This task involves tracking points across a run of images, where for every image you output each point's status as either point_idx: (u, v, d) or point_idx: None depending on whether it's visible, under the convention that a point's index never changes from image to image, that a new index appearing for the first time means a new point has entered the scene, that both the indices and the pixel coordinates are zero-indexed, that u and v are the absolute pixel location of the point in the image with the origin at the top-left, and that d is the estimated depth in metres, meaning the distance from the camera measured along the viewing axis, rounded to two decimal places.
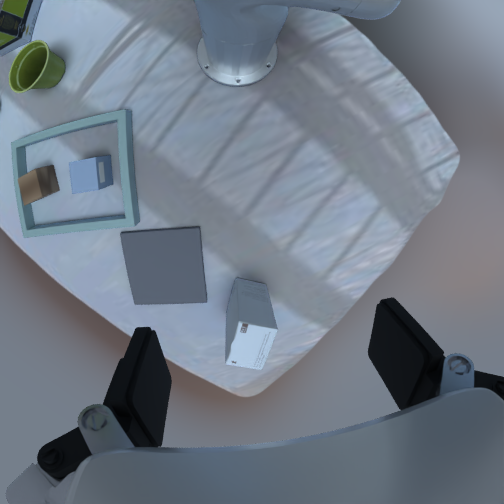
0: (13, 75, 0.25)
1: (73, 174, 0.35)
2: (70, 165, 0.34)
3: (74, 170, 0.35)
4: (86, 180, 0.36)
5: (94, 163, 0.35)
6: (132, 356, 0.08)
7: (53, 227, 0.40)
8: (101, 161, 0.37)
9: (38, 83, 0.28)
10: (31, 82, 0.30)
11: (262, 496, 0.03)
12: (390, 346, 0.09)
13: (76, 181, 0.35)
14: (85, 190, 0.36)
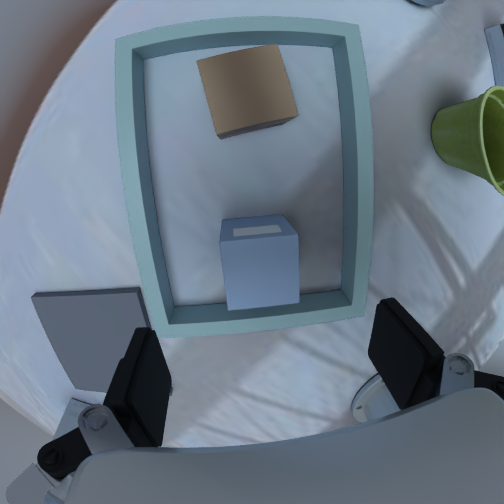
0: (498, 93, 0.13)
1: (268, 247, 0.18)
2: (291, 238, 0.18)
3: (277, 250, 0.18)
4: (250, 282, 0.19)
5: (286, 300, 0.19)
6: (132, 356, 0.08)
7: (133, 138, 0.18)
8: None
9: (473, 154, 0.15)
10: (459, 104, 0.17)
11: (262, 496, 0.03)
12: (390, 346, 0.09)
13: (250, 255, 0.18)
14: (227, 279, 0.18)
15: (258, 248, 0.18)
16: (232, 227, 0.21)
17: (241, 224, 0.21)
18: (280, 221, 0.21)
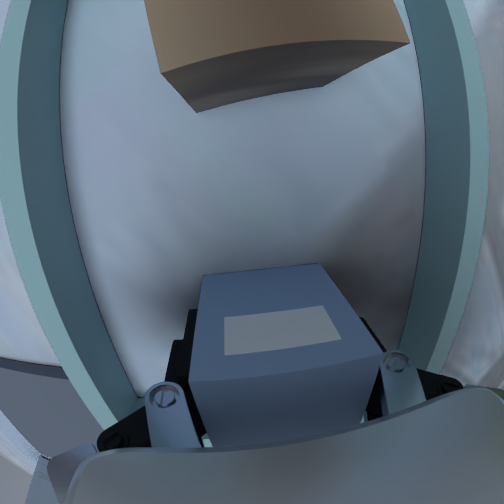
0: None
1: (310, 385, 0.07)
2: (365, 363, 0.06)
3: (330, 387, 0.07)
4: (264, 436, 0.07)
5: None
6: (193, 334, 0.09)
7: (15, 124, 0.06)
8: None
9: None
10: None
11: (262, 496, 0.03)
12: None
13: (266, 402, 0.07)
14: (214, 434, 0.07)
15: (287, 389, 0.07)
16: (222, 309, 0.09)
17: (241, 298, 0.10)
18: (324, 290, 0.10)
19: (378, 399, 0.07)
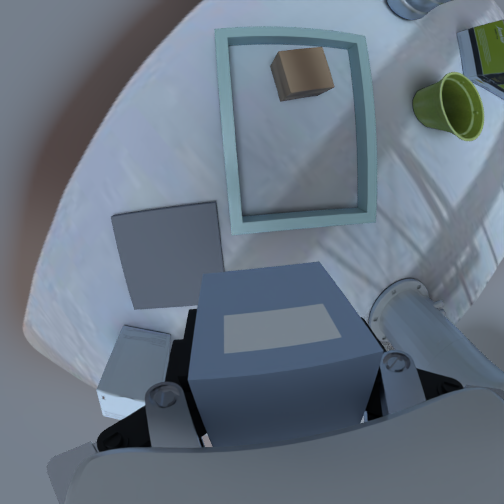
0: (455, 77, 0.23)
1: (310, 384, 0.07)
2: (365, 361, 0.06)
3: (330, 386, 0.07)
4: (264, 435, 0.07)
5: None
6: (193, 334, 0.09)
7: (230, 93, 0.27)
8: None
9: (438, 114, 0.26)
10: (431, 85, 0.28)
11: (262, 496, 0.03)
12: None
13: (266, 400, 0.07)
14: (214, 433, 0.07)
15: (287, 388, 0.07)
16: (222, 308, 0.09)
17: (241, 296, 0.10)
18: (324, 288, 0.10)
19: (378, 399, 0.07)
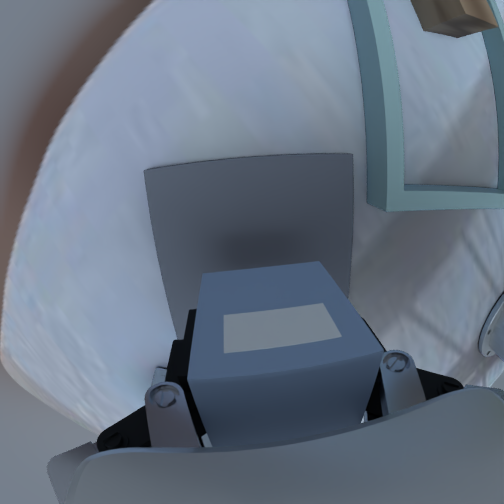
0: None
1: (310, 383, 0.07)
2: (366, 361, 0.06)
3: (331, 385, 0.07)
4: (264, 435, 0.07)
5: None
6: None
7: None
8: None
9: None
10: None
11: (262, 496, 0.03)
12: None
13: (265, 400, 0.07)
14: (214, 433, 0.07)
15: (287, 387, 0.06)
16: (221, 307, 0.09)
17: (241, 296, 0.10)
18: (324, 288, 0.10)
19: (378, 399, 0.07)
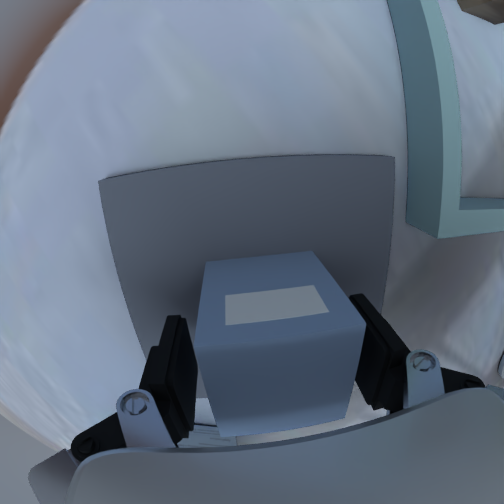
0: None
1: (301, 352, 0.08)
2: (350, 332, 0.08)
3: (320, 355, 0.08)
4: (261, 405, 0.09)
5: (323, 418, 0.09)
6: (167, 341, 0.09)
7: None
8: None
9: None
10: None
11: (262, 496, 0.03)
12: None
13: (262, 368, 0.08)
14: (216, 402, 0.08)
15: (281, 355, 0.08)
16: (223, 289, 0.10)
17: (241, 279, 0.11)
18: (315, 273, 0.11)
19: (401, 397, 0.07)
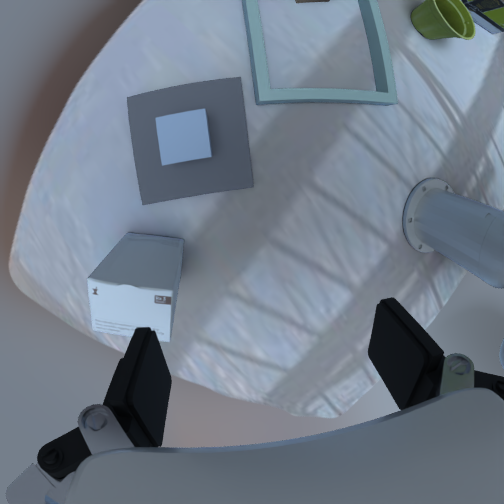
0: None
1: (185, 118, 0.24)
2: (200, 111, 0.24)
3: (192, 119, 0.25)
4: (175, 143, 0.25)
5: (201, 155, 0.26)
6: (132, 356, 0.08)
7: None
8: None
9: (435, 16, 0.21)
10: None
11: (262, 496, 0.03)
12: (390, 346, 0.09)
13: (174, 124, 0.25)
14: (160, 142, 0.25)
15: (179, 119, 0.24)
16: None
17: None
18: None
19: None
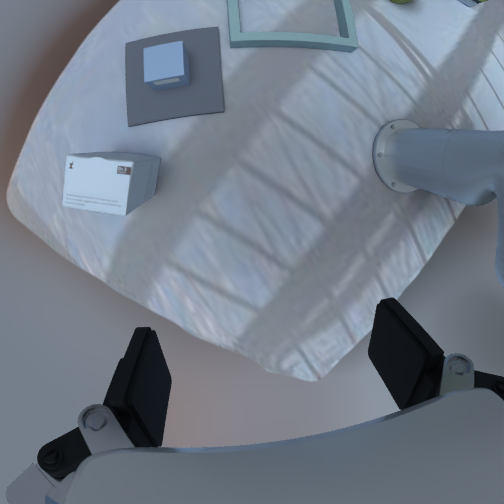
0: None
1: (166, 47, 0.26)
2: (178, 42, 0.26)
3: (171, 48, 0.26)
4: (157, 65, 0.27)
5: (176, 74, 0.28)
6: (132, 356, 0.08)
7: None
8: (180, 79, 0.30)
9: None
10: None
11: (262, 496, 0.03)
12: (390, 346, 0.09)
13: (157, 52, 0.26)
14: (145, 65, 0.27)
15: (162, 48, 0.26)
16: None
17: None
18: None
19: None
